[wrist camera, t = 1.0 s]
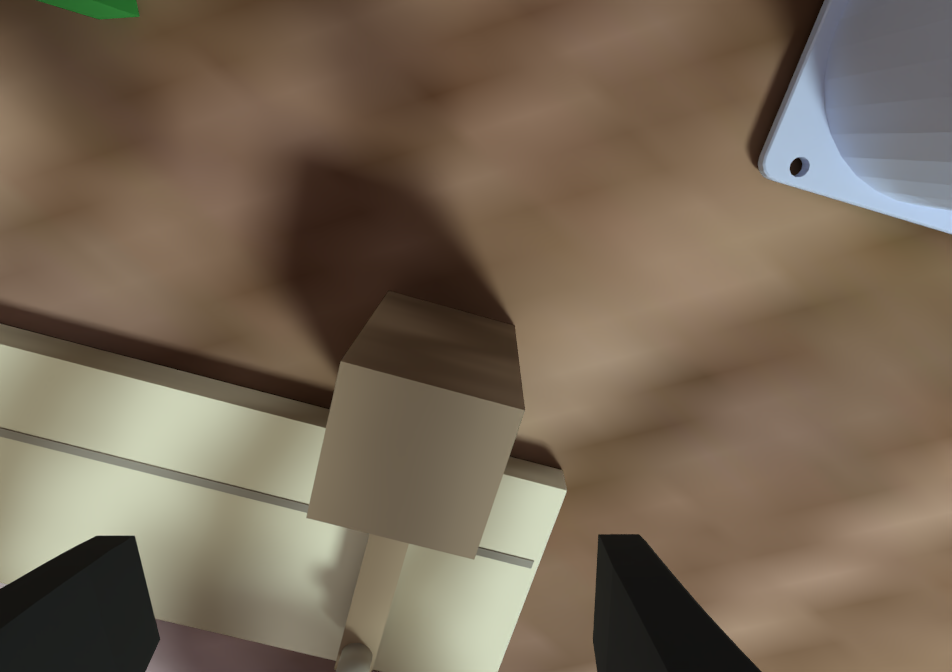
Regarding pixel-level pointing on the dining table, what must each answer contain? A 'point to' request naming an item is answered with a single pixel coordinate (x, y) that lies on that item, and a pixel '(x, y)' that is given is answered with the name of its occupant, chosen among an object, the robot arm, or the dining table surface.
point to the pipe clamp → (99, 7)
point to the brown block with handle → (415, 446)
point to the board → (238, 510)
